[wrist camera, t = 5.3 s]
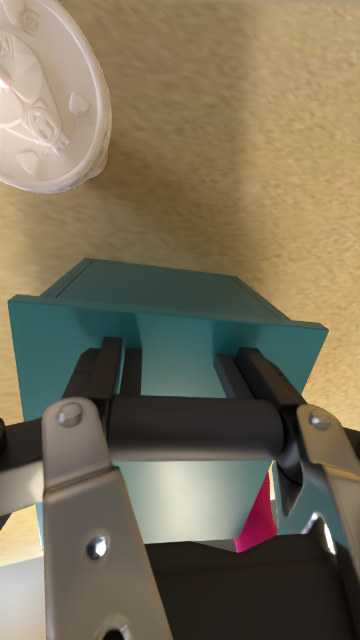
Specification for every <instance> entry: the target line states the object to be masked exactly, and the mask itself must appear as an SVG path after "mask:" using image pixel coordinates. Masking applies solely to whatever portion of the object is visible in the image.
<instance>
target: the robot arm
mask: <svg viewBox="0 0 360 640" xmlns="http://www.w3.org/2000/svg"><path fill="white" fill-rule="evenodd" d="M122 341H123V339H122V338H116V337H104V339H103V342H102V345H101V348H88V349H87V350H86V351H85V352H83V353H82V354H81V355H80V357H79V359H78V362H77V365H76V366H75V368H74V372H73V373H72V375H71V377H70V380H69V382H68V384H67V386H66V389H65V391H64V393H63V395H62V398H61V400H59V401H57V402H55V403H53V404H52V405H51V406H49V407H48V408H47V409H46V411H45V412H44V414H43V416H42V417H40V418H37V419H34V420H31V421H27V422H22V423H18V424H13V425H8V426H5V424H4V421H3V419H1V418H0V530H1V529H2V527H3V526H4V524H5V523H6V521H7V520H8V518H9V517H10V515H11V514H12V512H15V511H17V510H20V509H23V508H26V507H29V506H32V505H34V504H37V503H40V502H43V541H44V575H45V576H44V578H45V610H46V611H45V614H46V640H360V432H359V431H356V430H352V429H348V428H345V427H342V425H341V423H340V422H339V420H338V419H337V418H336V417H335V416H333V415H332V414H331V413H329V412H328V411H326V410H324V409H323V408H320V407H318V406H315V405H311V404H308V403H307V402H306V401H305V400H304V398H303V397H302V396H301V395H300V393H299V392H298V391H297V390H296V388H295V387H294V386H293V385H292V383H290V382H289V380H288V379H287V377H286V376H284V374H283V372H282V371H281V370H280V369H279V367H278V366H276V365H275V364H274V363H272V362H271V361H269V360H268V359H266V358H265V357H264V356H263V354H262V353H261V352H260V350H259V349H258V348H252V347H239V349H238V351H237V354H236V358H235V361H234V363H235V364H236V366H237V368H238V370H239V372H240V373H241V375H242V377H243V379H244V381H245V382H246V384H247V386H248V388H249V390H250V391H251V393H252V395H253V397H254V399H266V400H268V401H270V402H271V403H273V404H274V406H275V407H276V409H277V410H278V412H279V415H280V417H281V421H282V425H283V432H284V443H283V448H282V452H281V454H280V456H279V457H278V458H277V459H275V460H274V462H273V465H272V472H273V482H274V491H275V500H276V509H277V519H278V530H277V535H276V536H274V537H272V538H269V539H267V540H265V541H263V542H261V543H259V544H257V545H255V546H253V547H251V548H249V549H247V550H245V551H242V552H238V553H236V552H231V551H227V550H223V549H219V548H215V547H211V546H208V545H204V544H200V543H196V542H192V541H179V542H164V543H149V544H144V543H143V539H142V536H141V533H140V530H139V526H138V523H137V520H136V517H135V513H134V510H133V507H132V504H131V500H130V497H129V494H128V491H127V487H126V484H125V481H124V478H123V475H122V472H121V470H120V468H119V466H114V465H113V463H112V459H111V456H110V452H109V449H108V445H107V442H106V436H107V427H108V419H109V412H110V407H111V402H112V398H113V396H114V395H115V394H118V389H119V382H120V373H121V358H122Z"/></svg>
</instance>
